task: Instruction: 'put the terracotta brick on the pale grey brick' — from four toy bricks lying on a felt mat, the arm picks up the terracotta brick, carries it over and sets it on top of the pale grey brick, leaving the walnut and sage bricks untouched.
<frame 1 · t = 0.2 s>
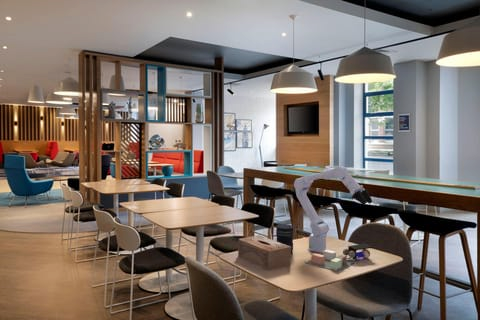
hand: (368, 203, 198), 31 cm above the table, tool tilted 50°, fingers open, 7 cm apart
walnut brick: (341, 264, 195), resting on felt mat
felt mat: (330, 262, 198), on the table
tissue box cover: (263, 261, 198), on the table
pale grey brick: (329, 258, 203), resting on felt mat
storage jar: (284, 252, 214), on the table
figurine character: (357, 259, 204), on the table, touching felt mat
sage brick: (336, 267, 189), resting on felt mat
terracotta brick: (317, 262, 196), resting on felt mat
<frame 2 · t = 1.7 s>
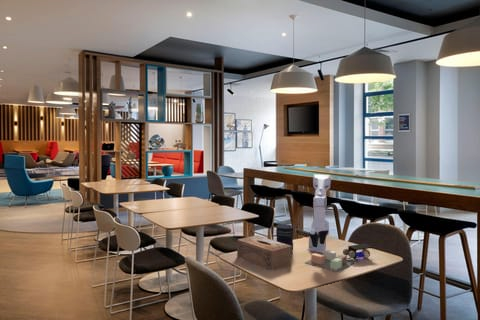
hand: (318, 245, 196), 9 cm above the table, tool pointing down, fingers open, 7 cm apart
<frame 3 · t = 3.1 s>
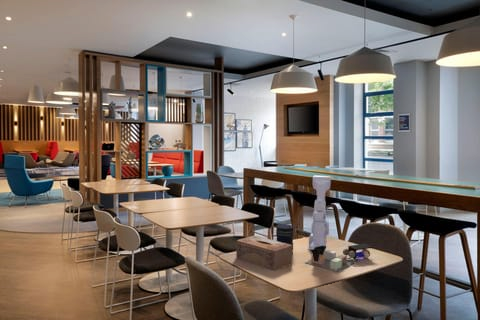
hand: (317, 260, 196), 2 cm above the table, tool pointing down, fingers closed on terracotta brick, 3 cm apart
terracotta brick: (317, 262, 196), resting on felt mat, touching gripper
when the fingers open (7 cm above the table, at t = 5.3 s): terracotta brick stays where it is, resting on pale grey brick.
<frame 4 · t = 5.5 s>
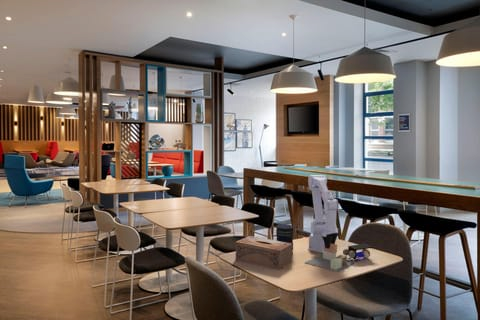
hand: (329, 247, 203), 7 cm above the table, tool pointing down, fingers open, 5 cm apart
pale grey brick: (329, 258, 203), resting on felt mat, touching terracotta brick
terracotta brick: (330, 251, 202), point 4 cm above the table, touching pale grey brick
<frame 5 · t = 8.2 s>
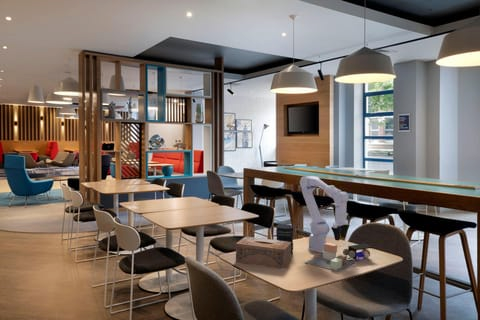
hand: (340, 238, 205), 10 cm above the table, tool pointing down, fingers open, 7 cm apart
at the end: terracotta brick 0.5 cm off-centre on the pale grey brick, point 4.0 cm above the pale grey brick's base; walnut brick moved 0.0 cm from its start; sage brick moved 0.0 cm from its start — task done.
